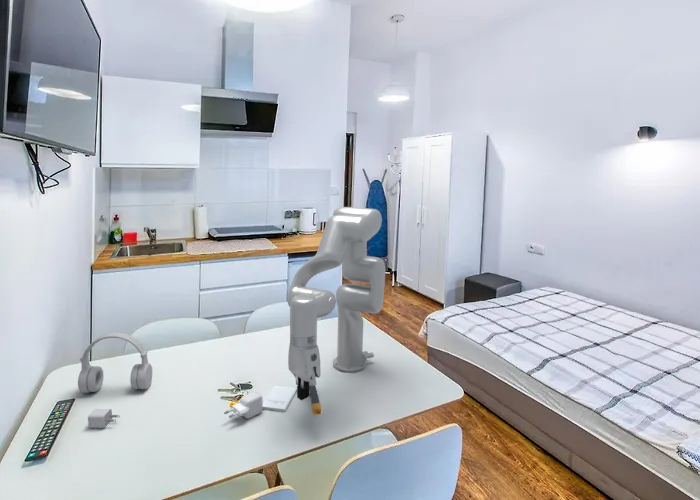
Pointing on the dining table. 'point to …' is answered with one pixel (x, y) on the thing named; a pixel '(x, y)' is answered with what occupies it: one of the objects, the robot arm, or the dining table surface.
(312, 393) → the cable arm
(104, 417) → the usb wall charger
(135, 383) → the headphones
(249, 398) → the power adapter
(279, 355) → the dining table surface
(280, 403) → the external hard drive
